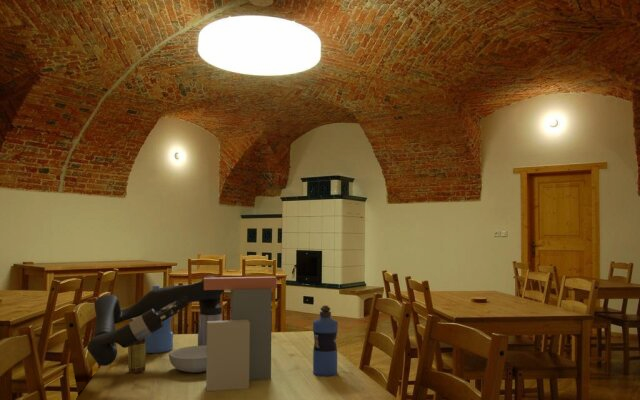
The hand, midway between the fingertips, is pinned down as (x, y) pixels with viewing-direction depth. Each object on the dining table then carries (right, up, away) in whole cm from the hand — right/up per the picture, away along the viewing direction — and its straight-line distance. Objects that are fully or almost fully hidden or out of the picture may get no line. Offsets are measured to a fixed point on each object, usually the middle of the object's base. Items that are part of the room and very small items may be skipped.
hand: (187, 300), depth 193 cm
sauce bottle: (-22, -29, +11) cm, 38 cm away
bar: (+18, +3, +5) cm, 19 cm away
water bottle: (+49, -29, +9) cm, 58 cm away
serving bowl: (0, -29, +14) cm, 33 cm away
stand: (+19, -28, -2) cm, 34 cm away
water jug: (-26, -31, +46) cm, 62 cm away
